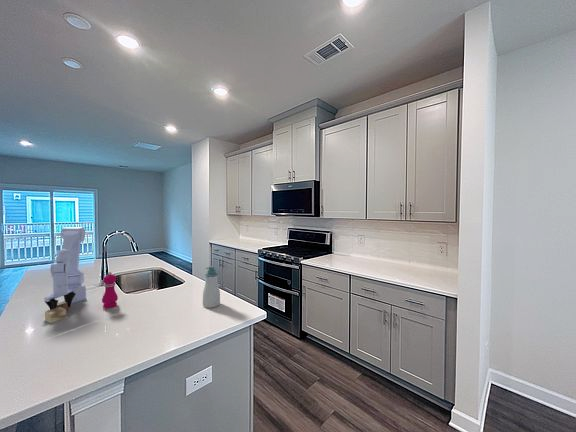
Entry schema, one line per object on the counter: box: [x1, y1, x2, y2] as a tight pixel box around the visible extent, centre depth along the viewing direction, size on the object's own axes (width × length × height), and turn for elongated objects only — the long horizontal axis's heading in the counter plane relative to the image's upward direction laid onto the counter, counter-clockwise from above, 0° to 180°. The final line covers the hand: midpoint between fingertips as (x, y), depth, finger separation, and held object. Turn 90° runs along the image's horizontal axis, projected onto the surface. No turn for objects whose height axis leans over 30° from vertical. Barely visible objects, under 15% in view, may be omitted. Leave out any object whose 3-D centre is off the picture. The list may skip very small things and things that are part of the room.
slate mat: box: [43, 315, 68, 323], centre depth 127 cm, size 12×14×1 cm
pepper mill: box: [101, 271, 119, 309], centre depth 138 cm, size 7×7×20 cm
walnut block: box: [57, 300, 69, 312], centre depth 131 cm, size 4×4×4 cm
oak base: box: [44, 307, 67, 323], centre depth 123 cm, size 6×6×4 cm
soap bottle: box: [202, 265, 221, 309], centre depth 143 cm, size 10×10×23 cm
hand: (61, 309), depth 131 cm, fingers open, 7 cm apart
